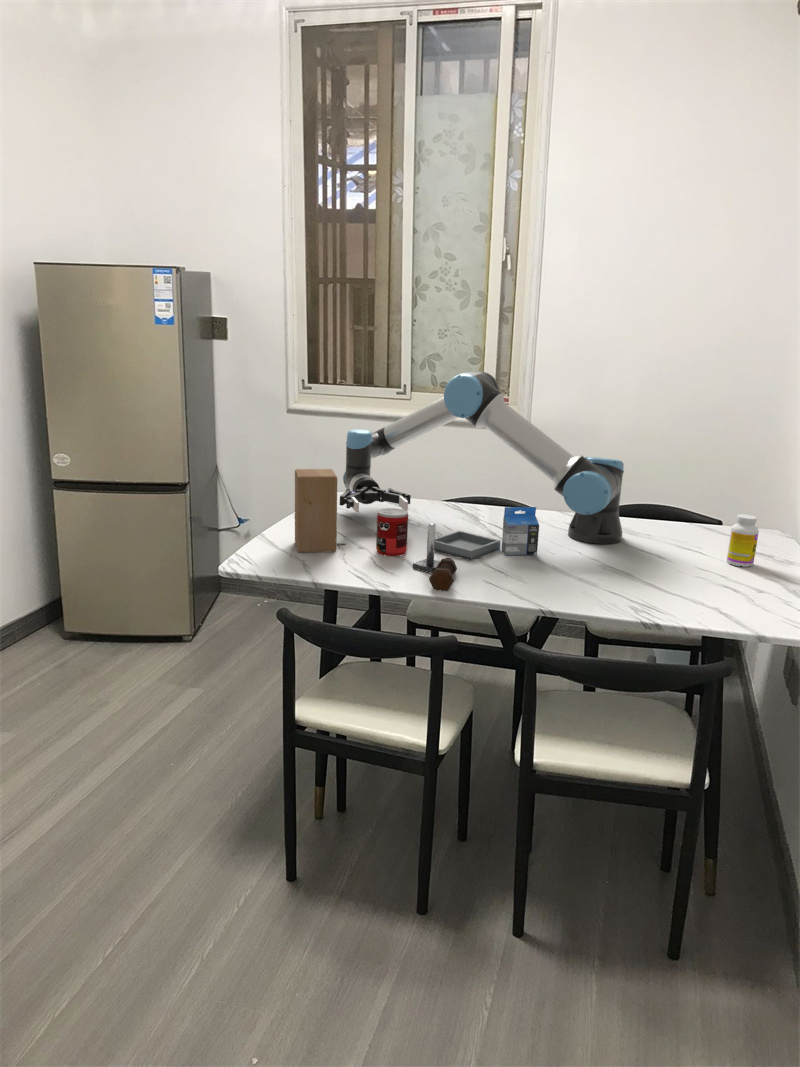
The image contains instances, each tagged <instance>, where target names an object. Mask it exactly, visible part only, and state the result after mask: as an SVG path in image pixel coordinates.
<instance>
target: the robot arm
mask: <svg viewBox="0 0 800 1067" xmlns="http://www.w3.org/2000/svg"><path fill="white" fill-rule="evenodd" d="M457 419H465V420H466V421H468V422H469V423H470V424H471V425H473V426H474V427H475V428H477V429H482V428H486V430H488V431H489V432H490V433H492V434H493V436H495V437H497V438H498V439H499V440H500V441H502V442H503V443H504V444H505V445H506V446H508V447H509V448H510V449H512V451H515V453H516V454H518V455H519V456H521V457H522V458H523V459H524V460H525V461H527V462H528V463H529V464H531V465H532V466H533V467H534V468H536V469H537V470H538V471H539V472H541V473H542V474H543V475H544V476H545V477H547V479H550V480H551V481H552V482H553V484H552V485H553V489H554V491H556V492H557V493H558V494H559V495H561V497H563V499H564V502H565V504H566V505H567V507H568V508H569V509H570V510H571V511H572V512H574V514H573V516H572V519H571V521H570V523H569V525H568V531H567V535H568V537H569V538H571V539H573V540H576V541H578V542H579V541H580V542H583V543H589V544H596V545H597V544H599V545H608V544H609V545H610V544H611V545H612V544H616V543H617V544H618V543H620V542H621V541H622V540H623V530H622V529H623V528H622V523H621V520H620V513H619V512H620V511H619V510H620V504H621V503H620V501H621V493H622V484H623V476H624V473H625V470H624V461H622V460H620V459H617V458H616V459H613V458H606V457H595V456H583V455H573V454H572V453H570V452H569V451H567V450H566V449H565V448H564V447H563V446H561V445H560V444H558V443H557V442H556V441H554V439H552V438H550V437H549V436H548V435H547V434H546V433H544V432H543V431H542V430H541V429H539V428H538V427H537V426H535V424H533V423H532V422H530V421H529V420H528V419H527V418H525V417H524V416H523V415H522V414H520V413H519V412H517V411H516V410H515V409H514V408H513V407H511V406H510V405H508V404H507V403H506V402H505V395H504V393H502V392H501V391H500V386H499V383H498V381H497V379H496V378H495V377H494V376H493V375H491V374H490V373H488V372H485V371H480V370H479V371H473V372H463V373H462V372H461V373H459V374H456V376H453V377H452V378H451V379H449V381H448V382H447V383H446V385H445V388H444V390H443V397H441V398H439V399H437V400H435V401H432V402H431V403H430V404H427V405H425V406H423V407H421V408H419V409H417V410H414V411H413V412H412V413H409V414H408V415H405V416H404V417H401V418H400V419H397V420H396V421H393V422H391V423H390V424H388V425H386V426H384V427H381V428H380V429H378V430H376V431H374V432H371V431H370V430H367V429H359V428H358V429H350V430H349V431H347V434H346V435H347V436H346V442H345V446H346V447H345V448H346V451H345V455H346V456H345V472H344V473H343V475H342V481H343V484H344V486H345V488H346V489H345V491H344V492H343V493H342V494H340V495H339V506H345V505H346V506H345V507H346V509H351V508H352V509H353V511H355V513H359V512H360V503H361V504H364V505H371V504H373V503H375V502H380V503H384V502H388V503H392V504H397V505H398V506H399V508H400V509H403V510H406V511H407V512H409V510H408V509H409V505H410V504H411V497H412V496H411V494H408V493H406V492H401V491H398V490H394V489H393V488H391V487H389V488H387V491H386V489H383V488H380V485H379V484H378V483H377V481H375V480H374V479H373V477H371V468H372V466H371V465H372V459H375V458H377V457H381V456H384V455H388V454H389V453H391V452H392V451H394V450H395V449H397V448H400V447H401V446H403V445H406V444H407V443H409V442H411V441H414V440H416V439H417V438H419V437H422V436H423V435H426V434H428V433H430V432H432V431H434V430H436V429H438V428H440V427H443V426H444V425H446V424H449V423H450V422H453V421H455V420H457Z"/></svg>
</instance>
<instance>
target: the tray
mask: <svg viewBox="0 0 800 1067" xmlns="http://www.w3.org/2000/svg"><path fill="white" fill-rule="evenodd" d="M501 543H502V540H499V539H495V538H490V537H487V536H483V535H478V534H474V533H470V532H466V531H461V530H456V531H453V532H450V533H447V534H444V535H441V536H438V537H435V549H434V552H437V553H441V554H444V555H448V556H452V557H455V558H460V559H463V560H467V561H471V562H472V561H473V560H477V559H479V558H482V557H486V556H488V555H490V554H494V553H495V552H499V551H501Z"/></svg>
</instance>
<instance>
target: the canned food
mask: <svg viewBox="0 0 800 1067" xmlns="http://www.w3.org/2000/svg"><path fill="white" fill-rule="evenodd" d="M376 514H377V515H376V542H375V544H376V547H375V549H376V552H378V553H377V554H379V555H380V554H381V555H380V556H384V555H386V556H385V557H401V556H400V555H402V556H404V555H406V553H407V550H408V527H409V511H406V510H403V509H402V508H395V507H389V508H388V507H387V508H380V509H379V510H377V513H376Z"/></svg>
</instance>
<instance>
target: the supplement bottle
mask: <svg viewBox="0 0 800 1067" xmlns="http://www.w3.org/2000/svg"><path fill="white" fill-rule="evenodd" d="M757 519H758V518H757V517H756V516H755V515H751V514H745V513H744V514H737V517H736V522H737V523H735V524H733V525H732V526H731V529H730V535H729V541H728V546H727V554H726V558H725V559H726V562H727V563H728V564H729V565H731V564H732V565H731V566H734V565H735V567H740V566H742V567H741V568H750V567H752V566H754V562H755V556H756V551H757V544H758V539H759V532H760V530H759V528H758V527H757V526H756V523H757ZM749 566H750V567H749Z"/></svg>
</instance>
